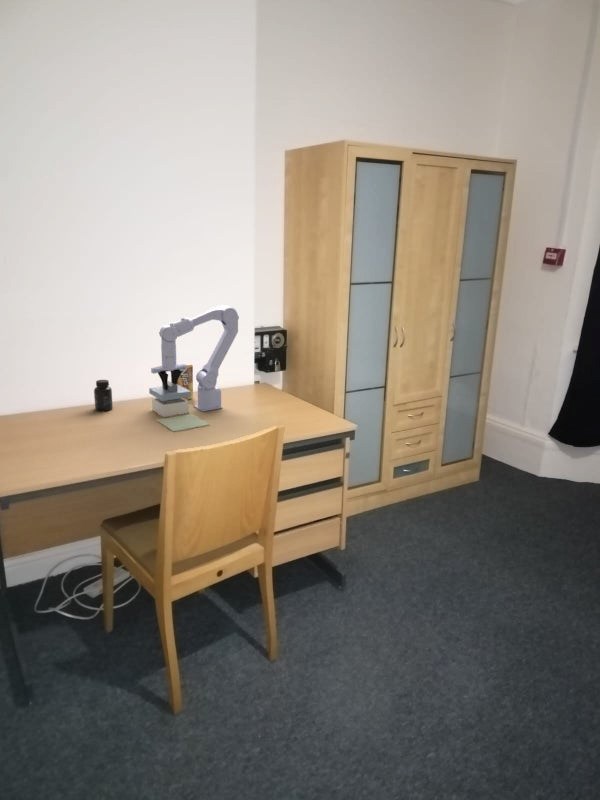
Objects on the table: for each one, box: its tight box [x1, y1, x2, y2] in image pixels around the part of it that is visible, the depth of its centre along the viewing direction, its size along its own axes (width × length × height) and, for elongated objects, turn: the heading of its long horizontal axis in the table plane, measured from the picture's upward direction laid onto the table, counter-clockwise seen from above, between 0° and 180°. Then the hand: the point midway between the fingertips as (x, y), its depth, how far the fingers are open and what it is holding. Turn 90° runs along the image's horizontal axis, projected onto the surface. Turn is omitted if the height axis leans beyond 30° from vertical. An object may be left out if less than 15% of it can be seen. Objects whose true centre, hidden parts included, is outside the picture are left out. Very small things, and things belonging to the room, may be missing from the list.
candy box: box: [170, 363, 194, 400], centre depth 250 cm, size 9×4×15 cm, turn 129°
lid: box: [148, 380, 191, 401], centre depth 231 cm, size 12×12×5 cm
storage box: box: [151, 397, 190, 418], centre depth 233 cm, size 11×11×5 cm
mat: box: [156, 413, 210, 433], centre depth 221 cm, size 15×15×1 cm
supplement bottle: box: [93, 379, 114, 412], centre depth 232 cm, size 7×7×12 cm
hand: (169, 388), depth 231 cm, fingers closed on lid, 3 cm apart
